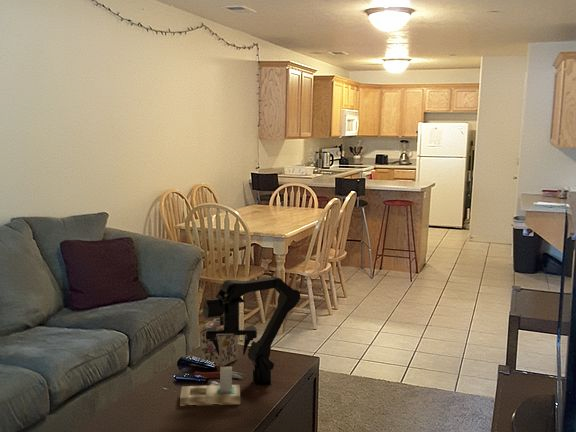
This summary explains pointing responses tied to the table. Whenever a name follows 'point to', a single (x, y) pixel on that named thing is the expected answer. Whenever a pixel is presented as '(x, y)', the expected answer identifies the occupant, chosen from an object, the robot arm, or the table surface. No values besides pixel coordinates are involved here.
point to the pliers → (218, 374)
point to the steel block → (225, 379)
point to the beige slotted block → (208, 395)
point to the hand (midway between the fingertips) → (231, 355)
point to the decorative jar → (226, 346)
